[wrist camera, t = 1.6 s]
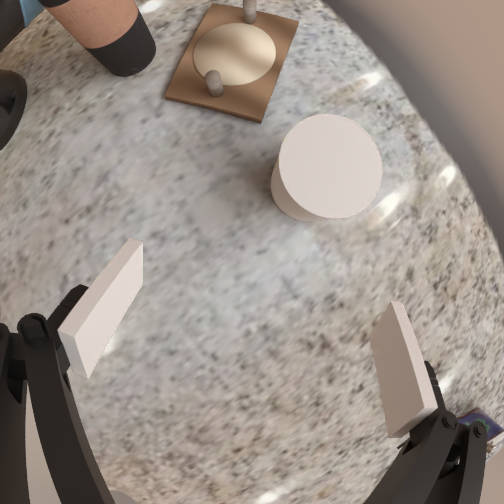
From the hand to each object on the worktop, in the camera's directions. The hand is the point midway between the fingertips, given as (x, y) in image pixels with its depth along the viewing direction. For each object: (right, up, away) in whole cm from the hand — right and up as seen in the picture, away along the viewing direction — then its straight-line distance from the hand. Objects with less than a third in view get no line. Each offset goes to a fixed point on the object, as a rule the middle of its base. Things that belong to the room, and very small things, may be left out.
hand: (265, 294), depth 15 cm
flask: (+35, -27, +21) cm, 49 cm away
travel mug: (-17, +28, +17) cm, 37 cm away
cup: (+5, +10, +18) cm, 21 cm away
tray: (-3, +26, +17) cm, 31 cm away
